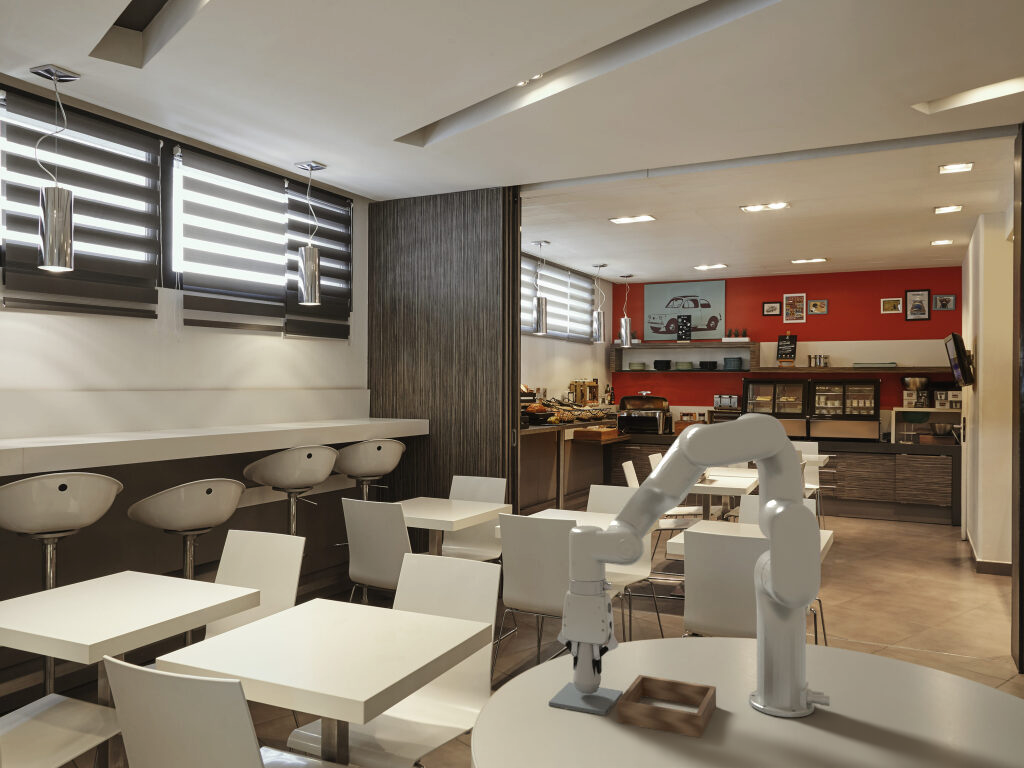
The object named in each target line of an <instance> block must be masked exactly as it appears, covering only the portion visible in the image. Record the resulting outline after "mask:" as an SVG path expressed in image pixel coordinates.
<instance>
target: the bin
mask: <svg viewBox="0 0 1024 768" xmlns="http://www.w3.org/2000/svg"><path fill="white" fill-rule="evenodd" d="M644 696H647V697H646V698H650V697H652V699H656V698H658V699H657V700H662V699H665V700H664V701H668V700H670V701H669V702H674V701H675V702H676V703H680V702H681V703H682V704H686V703H687V705H692V706H699V708H698V709H697V712H694V711H686V710H680V709H674V708H670V707H663V706H657V705H650V704H644V703H639V702H640V700H641V699H642V698H641V697H644ZM640 698H641V699H640ZM638 701H639V702H638ZM681 703H680V704H681ZM616 706H617V707H616V710H617V711H616V713H617V715H616V717H617V718H616V720H617V723H618V724H623V725H628V724H629V726H634V725H635V727H639V726H641V727H640V728H645V727H646V729H650V728H651V730H656V731H660V732H661V731H662V732H666V733H667V732H668V733H672V734H678V735H679V734H680V735H684V736H688V737H693V738H694V737H695V738H701V739H702V737H703V735H704V733H705V730H706V728H707V726H708V724H709V722H710V721H711V718H712V716H713V714H714V711H715V710H716V708H717V686H713V685H707V684H700V683H696V682H694V683H693V682H690V681H688V682H687V681H681V680H675V679H668V678H661V677H657V676H651V675H650V676H649V675H642V674H638V676H637V677H636V678H635V679H634V680H633V682H632V683H631V684H630V685H629V686H628V688H627V689H626V690H625V691H624V692H623V695H622V696H621V697H620V699H619V700H618V701H617V702H616Z"/></svg>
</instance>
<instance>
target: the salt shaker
mask: <svg viewBox="0 0 1024 768" xmlns="http://www.w3.org/2000/svg"><path fill="white" fill-rule="evenodd" d="M577 657H578V662H577V666H576V671H575V669H573V675H572V676H573V677H572V681H573V683H574V684H575V686H576V689H577V691H579V692H580V693H584V694H592V693H595V692H597V690H598V688H599V687H600V685H601V682H602V676H601V674H598V673H597V669H596V668H595V676H594V672H593V667H592V660H593V659H595V658H594V650H593V644H588V643H581V642H579V646H578V652H577Z"/></svg>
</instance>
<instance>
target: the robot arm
mask: <svg viewBox="0 0 1024 768" xmlns="http://www.w3.org/2000/svg"><path fill="white" fill-rule="evenodd" d="M753 461H754V463H755V465H756V468H757V477H758V517H757V519H758V527H759V530H760V532H761V533H762V535H763V536H764V537H765V538H766V539H767V540H769V549H768V550H766V551H765V552H763V553H762V554H760V556H759V557H758V559H757V560H756V563H755V565H754V570H753V579H754V591H755V600H756V603H755V605H756V690H753V691H752V692H750V693H749V694H748V703H749V705H750V706H751V707H753V708H754V709H755V710H757V711H760V712H762V713H764V714H768V715H771V716H775V717H781V718H802V717H805V716H809V715H811V714H812V713H813V712H814V711H815V704H816V705H820V706H825V707H831V703H830V702H831V696H830V695H827V694H826V695H825V693H824V691H815V690H812V688H809V682H808V681H807V667H806V666H807V647H806V645H807V615H806V608H807V607H809V606H810V605H811V604H813V603H814V601H815V600H816V598H817V596H818V594H819V591H820V588H821V580H822V579H821V578H822V577H821V575H822V574H821V573H822V572H821V569H822V567H821V566H822V563H821V562H822V561H821V559H822V558H821V557H822V556H821V555H822V553H821V552H822V550H821V540H822V539H821V530H820V525H819V522H818V519H817V517H816V515H815V514H814V512H813V511H812V510H811V509H810V508H809V507H808V506H806V505H805V504H804V492H803V491H804V489H803V472H802V464H801V461H800V457H799V454H798V451H797V450H796V447H795V445H794V444H793V442H792V441H791V439H790V438H789V437H788V435H787V433H786V428H785V427H784V425H783V424H782V422H781V421H780V420H779V419H778V418H776V417H775V416H773V415H769V414H763V413H758V412H757V413H753V412H749V413H746V414H742V415H741V416H739V417H738V418H737V419H734V420H729V421H724V422H717V423H711V424H704V423H694V424H691V425H688V426H687V427H685V428H684V429H683V431H681V433H680V434H679V435H678V436H677V438H676V439H675V441H674V442H673V443H672V444H671V445H670V447H669V448H668V450H667V451H666V452H665V453H664V455H663V456H662V458H661V459H660V461H659V462H658V464H656V465H655V467H654V469H653V470H652V471H651V472H650V473H649V475H648V476H647V478H646V479H645V480H644V481H643V482H642V483H641V485H640V486H639V487H638V489H637V490H636V491H635V492H634V493H633V494H632V496H631V497H630V498H629V499H628V500H627V501H626V502H625V503H624V505H623V506H622V508H621V509H620V510H619V512H618V513H617V515H615V517H614V519H613V520H612V521H611V522H610V524H609V525H608V527H607V529H606V530H604V529H603V528H602V527H601V526H600V527H599V526H595V525H577V526H574V527H572V528H571V529H570V530H569V534H568V535H569V536H568V559H569V560H568V563H569V564H568V581H569V582H568V585H569V586H568V588H569V589H568V590H567V591H566V593H565V598H564V604H563V609H562V621H561V623H562V625H561V629H560V631H559V634H558V636H556V637H557V638H556V640H557V641H558V642H559V643H561V644H562V645H563V646H565V647H566V648H567V650H568V651H569V652H570V655H571V657H573V659H572V660H573V668H572V669H573V670H574V669H575V671H576V666H577V662H578V657H577V652H578V646H579V642H581V643H588V644H593V650H594V658H595V659H593V660H592V667H593V672H594V676H595V668H596V669H597V673H598V674H600V675H601V674H602V671H603V670H602V669H603V667H602V665H603V664H602V663H603V662H602V661H603V660H602V657H603V656H604V655H606V654H607V653H608V652H611V651H614V650H615V649H617V648H618V647H619V642H618V640H617V639H616V638H617V637H616V635H615V634H614V633H615V630H614V629H615V628H614V615H613V605H612V600H611V599H612V598H611V595H610V593H609V592H607V591H612V589H613V584H612V583H611V582H608V581H607V578H606V564H610V565H611V564H612V565H614V566H615V565H617V566H624V567H626V566H632V565H635V564H637V563H638V562H639V561H640V560H641V559H642V557H643V555H644V553H645V545H644V541H643V539H644V538H645V536H646V535H647V534H648V532H649V531H650V530H651V529H652V527H654V524H656V523H657V522H658V520H659V519H660V518H661V517H662V516H664V514H665V513H667V512H669V511H672V509H675V508H676V507H678V506H679V505H681V503H683V502H684V500H685V499H686V497H688V495H689V494H690V492H691V491H692V489H693V488H694V487H695V485H696V484H697V482H698V481H699V479H700V478H701V477H702V476H703V474H704V473H705V472H706V471H707V469H711V468H717V467H726V466H731V465H737V464H741V463H748V462H753Z"/></svg>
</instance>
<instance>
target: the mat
mask: <svg viewBox="0 0 1024 768" xmlns="http://www.w3.org/2000/svg"><path fill="white" fill-rule="evenodd" d="M623 691H624V690H619V689H613V688H606V687H602V686H599V688H598V690H597V692H595V693H592V694H584V693H580V692H579V691H577V689H576V686H575V684H574V682H572V681H569V682H568V683H566V684H565V685H564V686H563V688H561V690H559V691H558V692H557V693H556V694H555V695H554V696H553V697H552V698H551V699H550V700H549V701H548V706H549V707H555V708H559V707H560V709H564V708H567V709H566V710H570V709H572V711H575V710H578V711H577V712H581V711H583V712H582V713H587V712H589V713H588V714H592V713H595V714H594V715H598V714H599V715H600V716H603V715H605V716H607V715H608V713H609V712H610V711H611V710H612V709H613V708H614V706H615V705H616V704H617V701H618V699H619V698H621V696H622V695H623V694H624V692H623ZM615 703H616V704H615ZM611 708H612V709H611ZM610 709H611V710H610ZM606 714H607V715H606ZM605 716H604V717H605Z"/></svg>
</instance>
